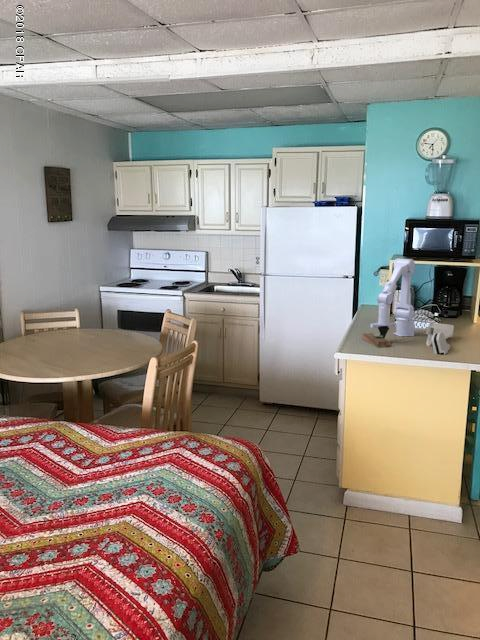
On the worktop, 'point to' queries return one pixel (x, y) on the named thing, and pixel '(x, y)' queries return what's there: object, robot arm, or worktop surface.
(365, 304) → the worktop surface
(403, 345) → the worktop surface
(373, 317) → the worktop surface
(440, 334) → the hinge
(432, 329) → the shelf bracket
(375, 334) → the sage green cube
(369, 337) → the brown u-shaped block
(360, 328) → the worktop surface
